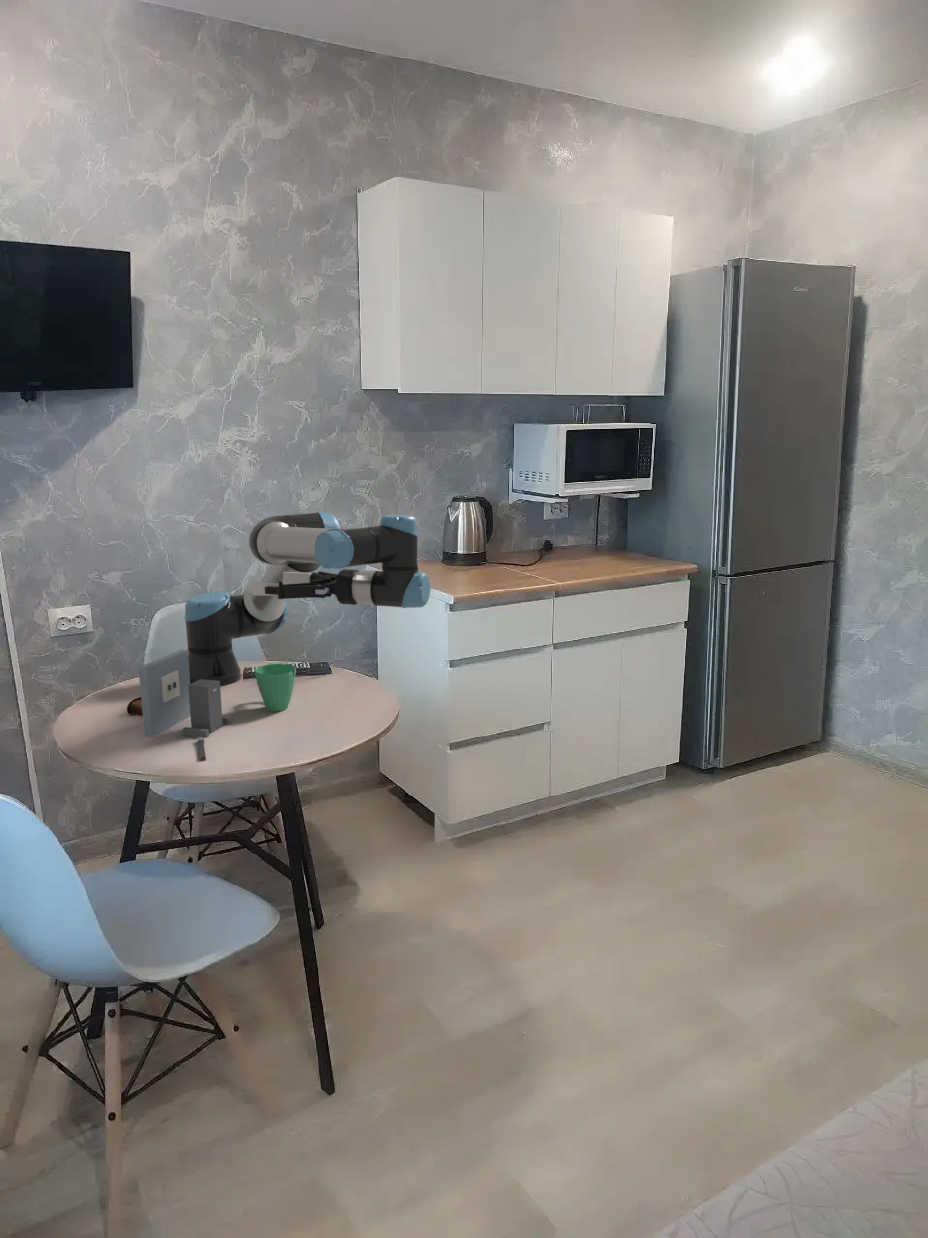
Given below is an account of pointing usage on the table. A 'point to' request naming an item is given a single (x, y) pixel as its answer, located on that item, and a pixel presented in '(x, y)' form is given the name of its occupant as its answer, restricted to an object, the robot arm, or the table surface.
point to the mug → (276, 685)
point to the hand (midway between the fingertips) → (269, 582)
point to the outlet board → (167, 694)
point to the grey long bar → (202, 748)
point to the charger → (205, 705)
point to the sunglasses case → (135, 707)
